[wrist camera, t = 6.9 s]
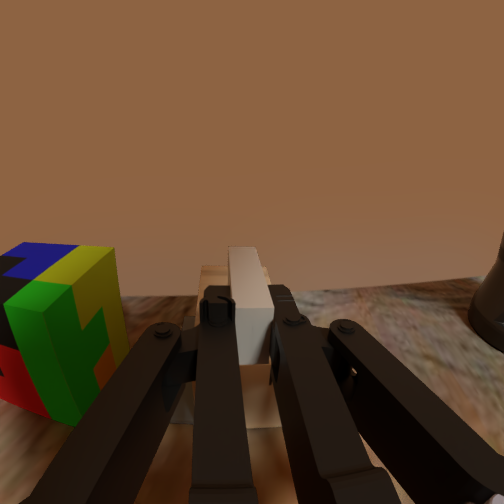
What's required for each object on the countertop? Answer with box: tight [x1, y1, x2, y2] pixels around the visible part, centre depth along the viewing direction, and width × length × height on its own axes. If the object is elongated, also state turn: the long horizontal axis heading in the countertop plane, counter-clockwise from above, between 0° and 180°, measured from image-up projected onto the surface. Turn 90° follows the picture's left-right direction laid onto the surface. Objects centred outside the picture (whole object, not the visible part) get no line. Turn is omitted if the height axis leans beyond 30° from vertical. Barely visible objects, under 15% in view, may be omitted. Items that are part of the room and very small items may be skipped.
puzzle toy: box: [0, 242, 130, 427], centre depth 20 cm, size 10×10×10 cm
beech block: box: [192, 266, 282, 428], centre depth 24 cm, size 6×6×14 cm
